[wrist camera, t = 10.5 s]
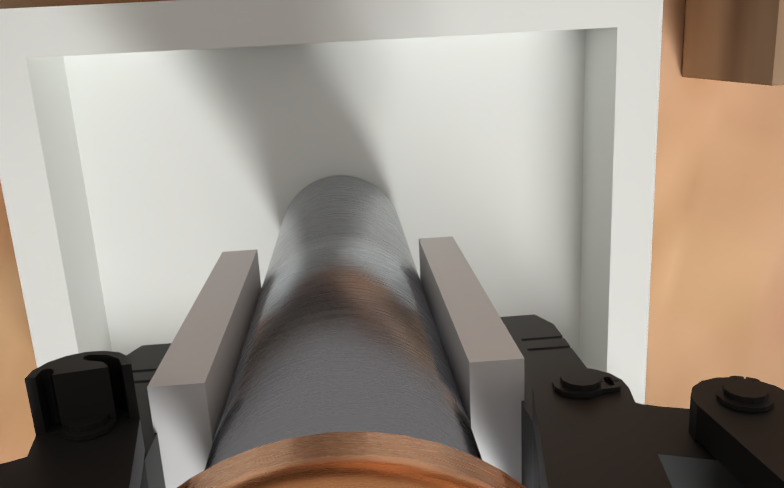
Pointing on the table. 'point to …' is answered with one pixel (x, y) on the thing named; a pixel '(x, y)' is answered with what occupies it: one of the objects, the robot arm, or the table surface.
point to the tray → (330, 152)
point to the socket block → (734, 41)
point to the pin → (344, 363)
